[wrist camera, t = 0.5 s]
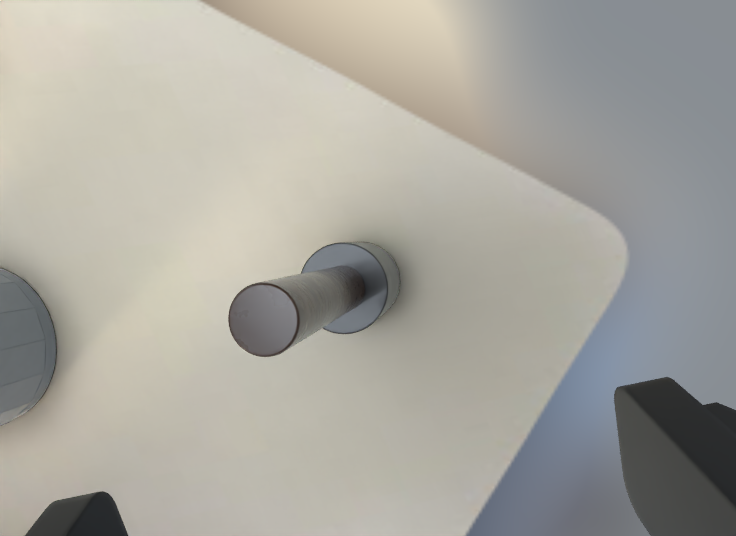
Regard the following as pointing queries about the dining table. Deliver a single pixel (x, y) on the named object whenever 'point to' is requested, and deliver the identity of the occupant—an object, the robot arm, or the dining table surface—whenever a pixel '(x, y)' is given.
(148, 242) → the dining table surface
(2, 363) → the canister
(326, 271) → the flanged cylinder peg
